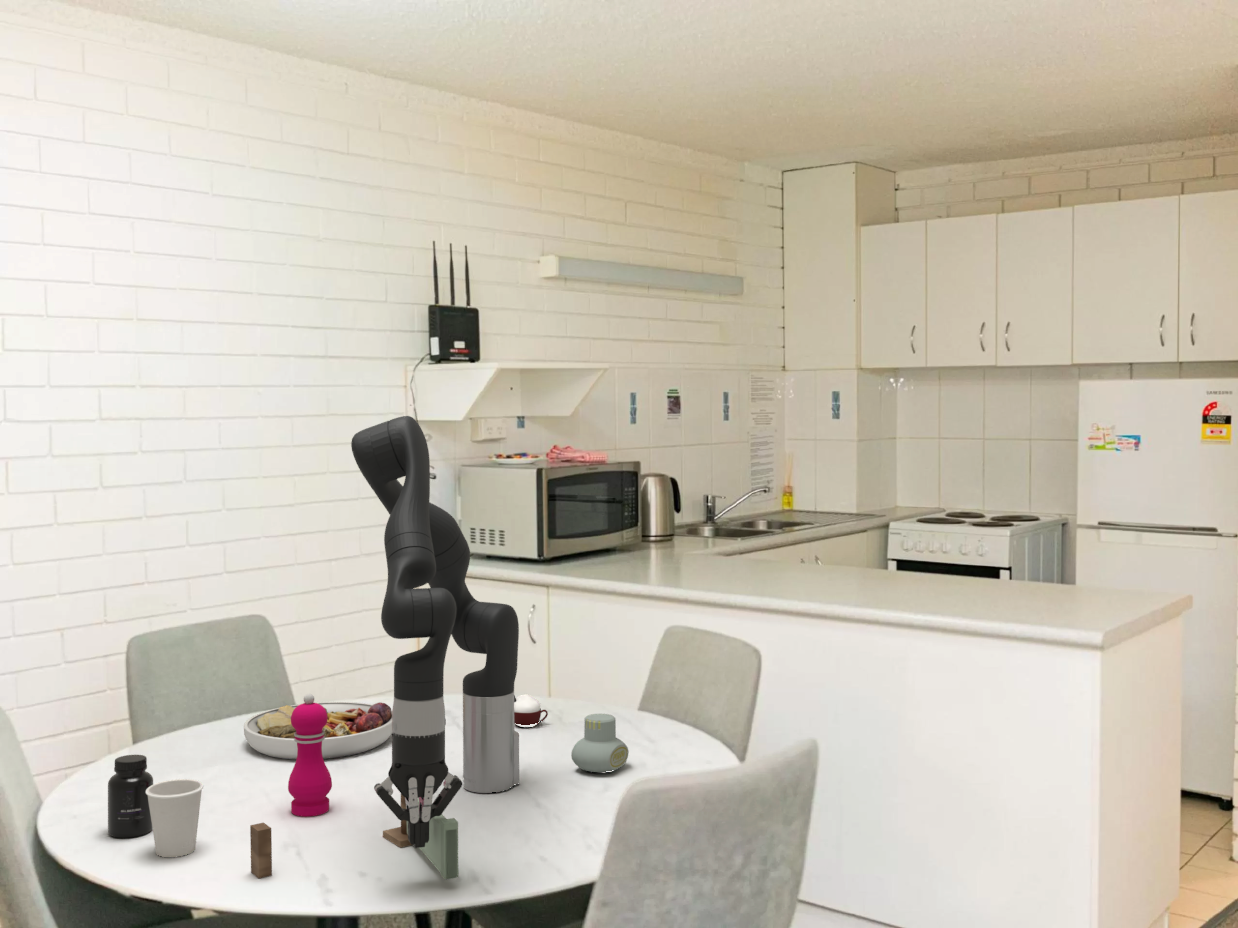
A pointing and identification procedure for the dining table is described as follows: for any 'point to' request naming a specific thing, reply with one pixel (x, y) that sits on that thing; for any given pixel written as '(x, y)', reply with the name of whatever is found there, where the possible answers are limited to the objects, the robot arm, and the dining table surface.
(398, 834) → the wooden pieces
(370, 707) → the bowl
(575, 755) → the air freshener
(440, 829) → the panel
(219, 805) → the dining table surface
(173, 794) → the dixie cup
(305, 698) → the pepper mill
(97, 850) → the dining table surface
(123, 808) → the supplement bottle
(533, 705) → the cocoa
